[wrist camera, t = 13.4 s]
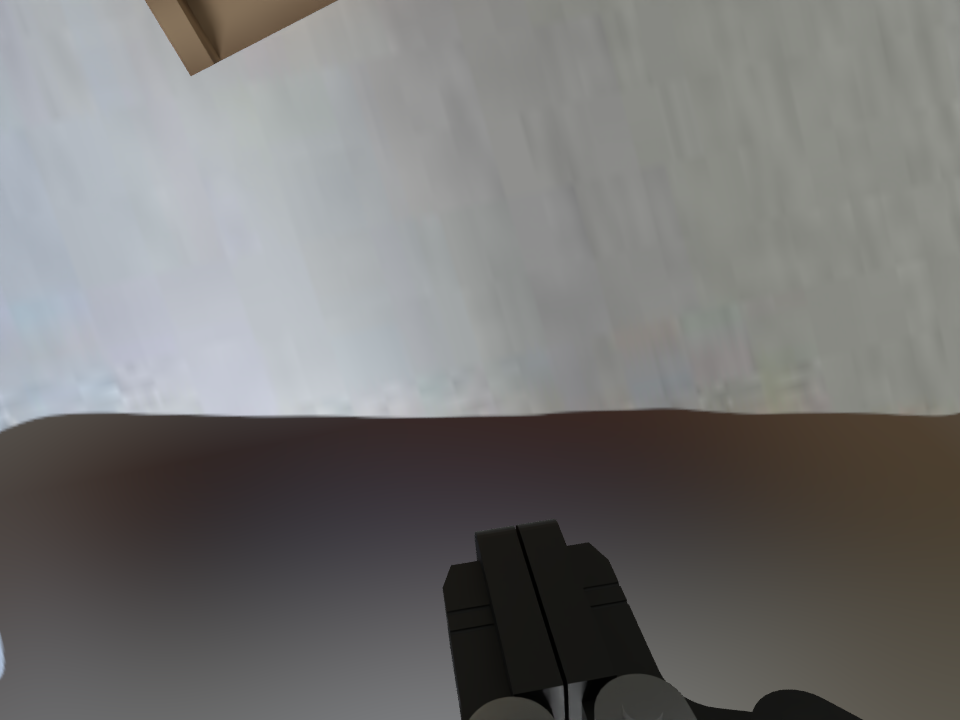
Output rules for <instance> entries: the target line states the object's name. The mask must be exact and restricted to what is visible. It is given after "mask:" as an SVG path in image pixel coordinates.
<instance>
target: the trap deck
mask: <svg viewBox="0 0 960 720" xmlns="http://www.w3.org/2000/svg"><path fill="white" fill-rule="evenodd" d="M145 1H146V3H147V5H148V6H149V8H150V9H151V11H152V13H153V14H154V16H155V18H156V19H157V21H158V23H159V24H160V26H161V28H162V29H163V31H164V33H165V34H166V36H167V38H168V39H169V41H170V42H171V44H172V46H173V47H174V49H175V51H176V52H177V54H178V56H179V57H180V59H181V61H182V62H183V64H184V66H185V67H186V69H187V71H188V72H189V74H190V75H191V76H192V75H194V74H196V73H198V72H200V71H202V70H204V69H206V68H208V67H209V66H211V65H213V64H215V63H217V62H219V61H221V60H223V59H225V58H227V57H229V56H230V55H232V54H234V53H236V52H238V51H240V50H242V49H244V48H246V47H248V46H250V45H252V44H254V43H256V42H258V41H260V40H262V39H263V38H265V37H267V36H269V35H271V34H273V33H275V32H277V31H279V30H281V29H283V28H285V27H287V26H289V25H291V24H293V23H294V22H296V21H298V20H300V19H302V18H304V17H306V16H308V15H310V14H312V13H314V12H316V11H318V10H320V9H322V8H324V7H326V6H327V5H329V4H331V3H333V2H335V1H337V0H145Z"/></svg>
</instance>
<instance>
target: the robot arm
mask: <svg viewBox="0 0 960 720" xmlns="http://www.w3.org/2000/svg"><path fill="white" fill-rule="evenodd" d="M475 546H476V555H477V561H475V562H469V563H463V564H457V565H451V567H450V570H449V572H448V575H447V578H446V580H445V583H444V586H443V593H444V602H445V610H446V617H447V625H448V633H449V641H450V649H451V655H452V662H453V667H454V674H455V681H456V688H457V694H458V700H459V707H460V714H461V720H862V719H860V718H858V717H857V716H855V715H853V714H851V713H849V712H847V711H845V710H844V709H842V708H840V707H838V706H836V705H834V704H832V703H830V702H829V701H827V700H825V699H823V698H821V697H819V696H816V695H814V694H811V693H808V692H804V691H799V690H779V691H775V692H772V693H770V694H768V695H765V696H764V697H763V698H761V699H760V700H759V701H758V703H757V704H756V705H755V707H754V709H753V712H747V711H738V710H729V709H720V708H714V707H708V706H704V705H701V704H698V703H695V702H693V701H691V700H689V699H687V698H685V697H684V696H683V695H682V694H681V693H680V692H679V691H678V690H677V689H676V688H675V687H673V686H672V685H671V684H670V683H668V682H666V681H665V680H664V678H663V677H662V675H661V674H660V672H659V670H658V668H657V665H656V663H655V661H654V659H653V657H652V654H651V652H650V650H649V648H648V646H647V644H646V641H645V639H644V637H643V635H642V633H641V630H640V628H639V626H638V624H637V621H636V619H635V617H634V615H633V613H632V610H631V608H630V606H629V605H628V604H627V599H626V597H625V595H624V593H623V591H622V588H621V586H619V583H618V580H617V578H616V575H615V573H614V571H613V569H612V567H611V564H610V562H609V560H608V559H607V558H606V557H605V556H604V555H602V554H601V553H600V552H599V551H598V550H597V549H596V548H594V547H593V546H592V545H591V544H590V543H583V544H576V545H570V546H567V545H566V543H565V540H564V538H563V535H562V533H561V530H560V528H559V525H558V523H557V521H556V520H555V519H551V520H545V521H539V522H533V523H527V524H520V525H516V530H515V527H514V526H509V527H503V528H497V529H491V530H484V531H478V532H475Z"/></svg>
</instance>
